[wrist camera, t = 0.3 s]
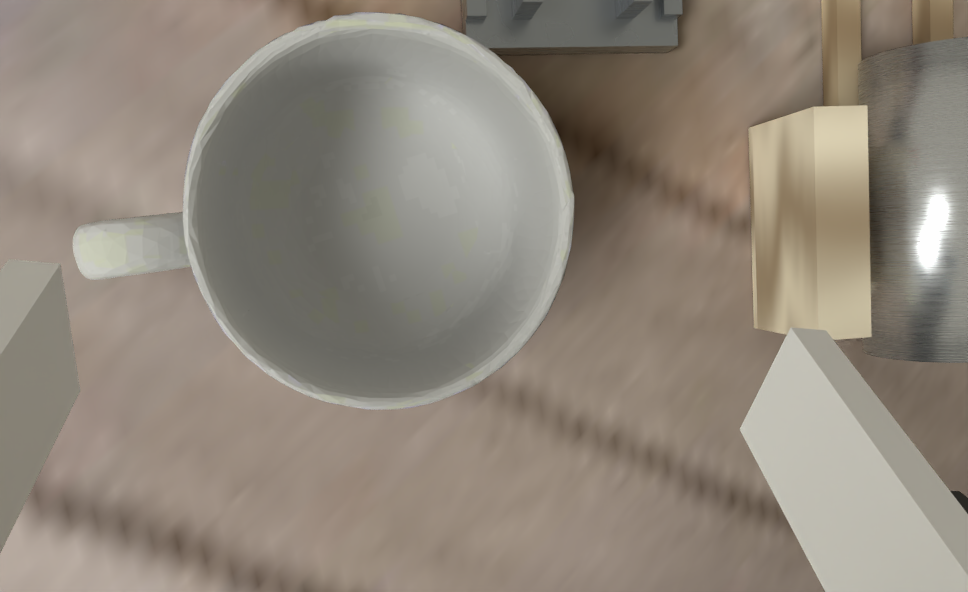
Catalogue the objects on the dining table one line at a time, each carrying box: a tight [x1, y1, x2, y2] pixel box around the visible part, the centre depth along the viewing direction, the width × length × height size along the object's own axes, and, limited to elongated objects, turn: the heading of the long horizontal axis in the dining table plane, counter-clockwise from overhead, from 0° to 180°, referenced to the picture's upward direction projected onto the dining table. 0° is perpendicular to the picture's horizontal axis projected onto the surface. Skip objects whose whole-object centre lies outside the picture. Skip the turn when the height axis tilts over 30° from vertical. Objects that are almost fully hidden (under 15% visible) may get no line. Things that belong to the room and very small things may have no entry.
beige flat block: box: [748, 0, 953, 340], centre depth 29 cm, size 22×12×4 cm, turn 3°
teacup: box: [73, 12, 574, 410], centre depth 24 cm, size 14×11×8 cm
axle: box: [858, 37, 968, 363], centre depth 28 cm, size 11×5×5 cm, turn 3°
